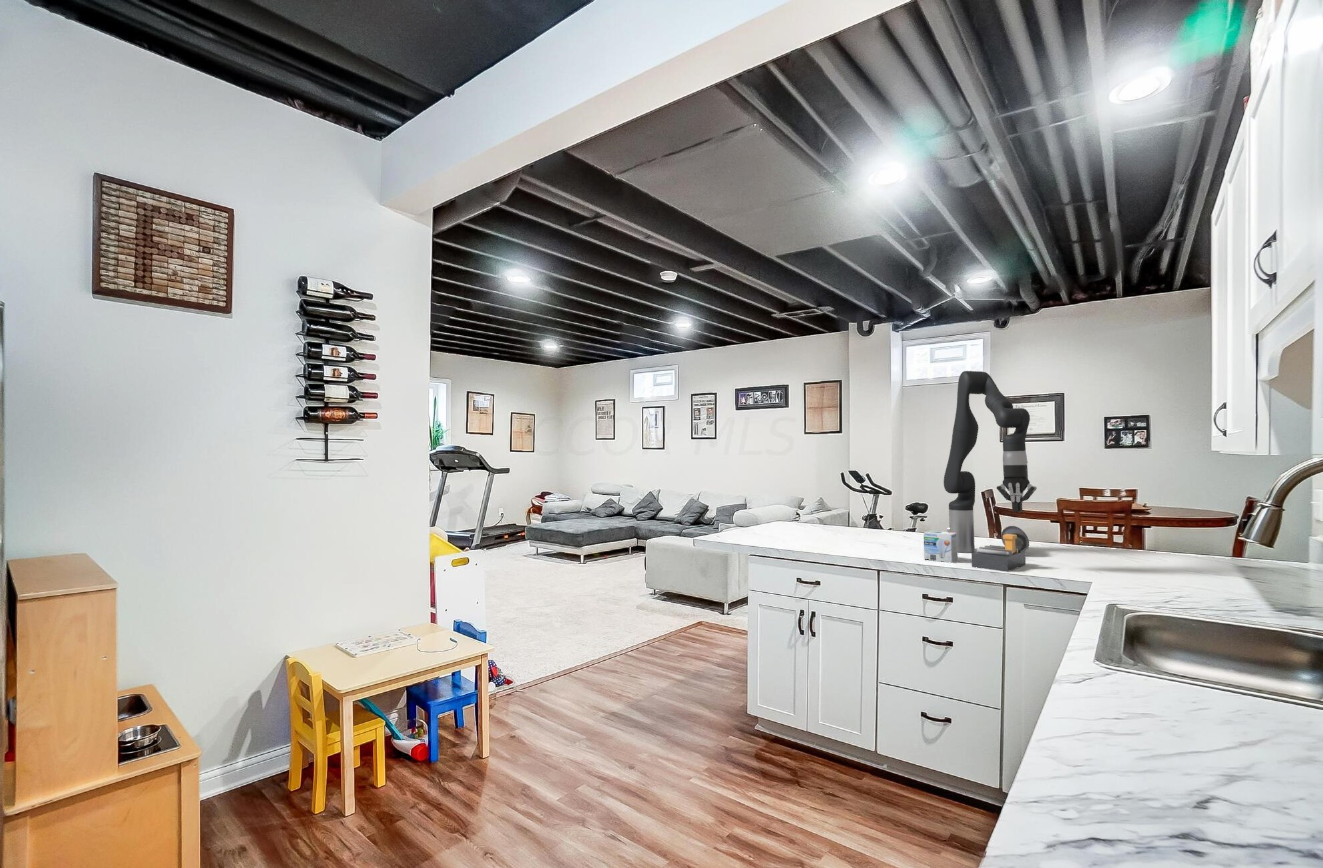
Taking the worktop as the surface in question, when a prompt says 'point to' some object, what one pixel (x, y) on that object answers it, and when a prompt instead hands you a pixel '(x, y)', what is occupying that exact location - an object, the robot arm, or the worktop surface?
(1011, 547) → the breaker handle
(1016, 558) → the breaker box
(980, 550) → the dressed cables
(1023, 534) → the bluetooth speaker
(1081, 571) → the worktop surface
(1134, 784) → the worktop surface
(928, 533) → the light bulb box
